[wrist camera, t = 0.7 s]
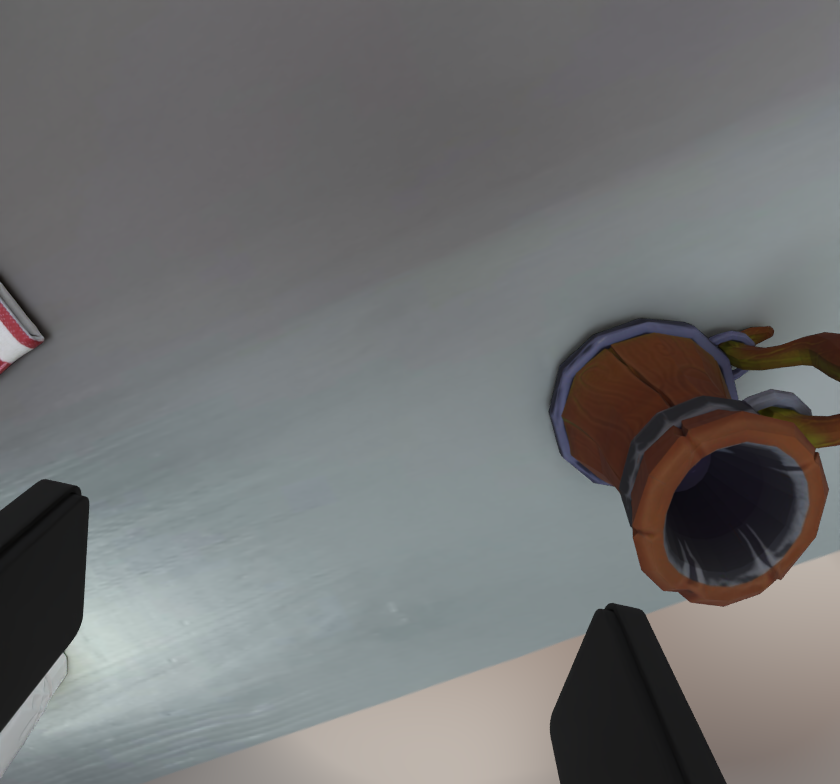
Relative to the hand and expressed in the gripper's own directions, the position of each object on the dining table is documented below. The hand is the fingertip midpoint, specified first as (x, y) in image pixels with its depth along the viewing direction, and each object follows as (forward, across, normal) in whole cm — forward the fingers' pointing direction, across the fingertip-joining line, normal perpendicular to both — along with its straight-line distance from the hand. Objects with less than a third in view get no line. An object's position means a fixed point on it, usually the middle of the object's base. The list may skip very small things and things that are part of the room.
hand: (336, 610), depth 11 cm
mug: (+28, -18, 0) cm, 33 cm away
